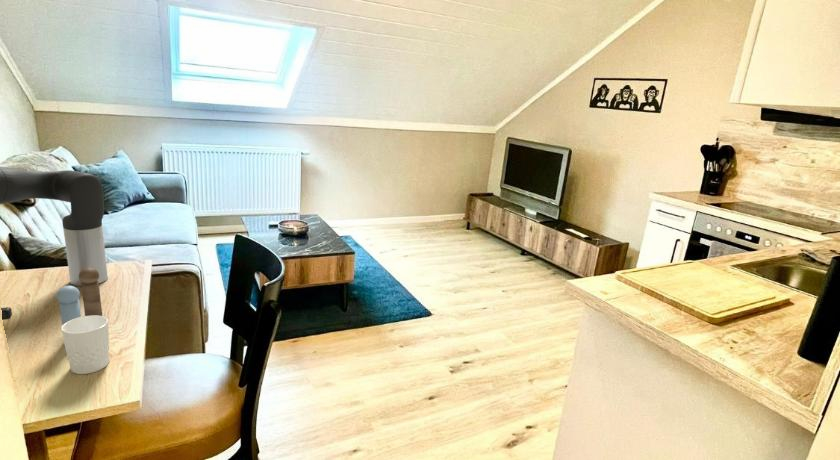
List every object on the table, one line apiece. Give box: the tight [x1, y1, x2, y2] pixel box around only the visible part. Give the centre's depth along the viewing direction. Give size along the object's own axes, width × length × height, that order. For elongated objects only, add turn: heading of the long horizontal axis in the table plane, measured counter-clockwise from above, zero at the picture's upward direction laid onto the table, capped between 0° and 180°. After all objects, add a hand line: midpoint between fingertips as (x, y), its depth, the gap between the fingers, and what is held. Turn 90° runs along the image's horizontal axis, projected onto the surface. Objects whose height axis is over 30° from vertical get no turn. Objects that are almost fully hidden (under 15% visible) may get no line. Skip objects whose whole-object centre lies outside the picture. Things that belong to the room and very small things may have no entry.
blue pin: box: [56, 285, 82, 327], centre depth 103 cm, size 4×4×14 cm
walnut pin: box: [79, 268, 103, 316], centre depth 114 cm, size 4×4×14 cm
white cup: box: [60, 315, 110, 375], centre depth 95 cm, size 8×8×10 cm
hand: (10, 312), depth 97 cm, fingers closed
